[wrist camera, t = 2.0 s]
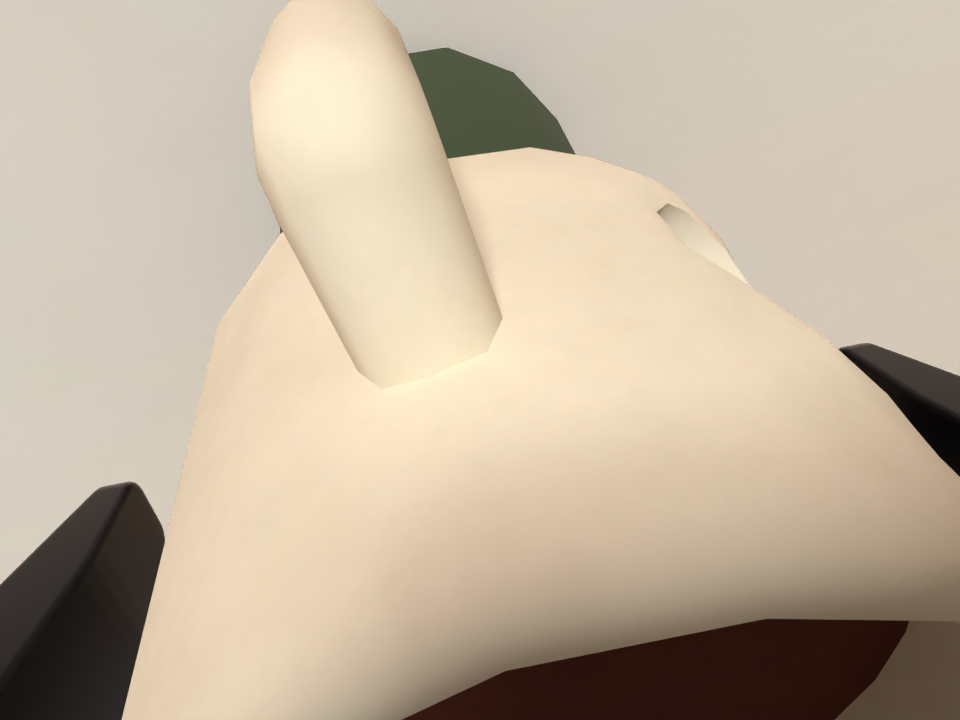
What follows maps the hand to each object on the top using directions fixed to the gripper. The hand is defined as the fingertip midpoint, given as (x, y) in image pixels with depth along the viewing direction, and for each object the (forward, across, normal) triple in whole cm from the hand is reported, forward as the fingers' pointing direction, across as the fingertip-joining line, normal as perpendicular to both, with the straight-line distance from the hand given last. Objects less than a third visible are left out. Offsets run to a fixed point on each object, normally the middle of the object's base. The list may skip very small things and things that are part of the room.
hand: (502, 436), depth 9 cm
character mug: (+8, 0, 0) cm, 8 cm away
